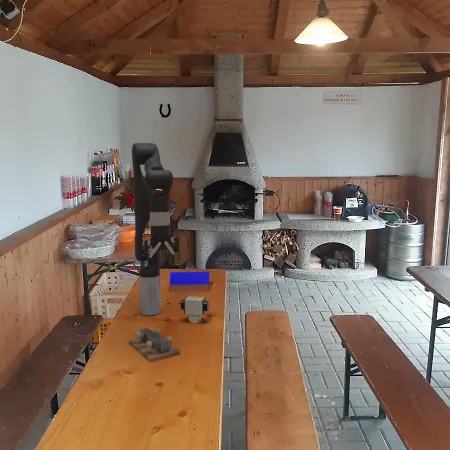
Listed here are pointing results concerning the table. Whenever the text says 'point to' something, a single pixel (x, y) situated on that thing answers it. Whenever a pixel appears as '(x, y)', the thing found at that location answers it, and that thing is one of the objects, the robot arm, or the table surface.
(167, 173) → the robot arm
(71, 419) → the table surface
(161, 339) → the bar
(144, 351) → the cradle
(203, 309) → the pneumatic valve
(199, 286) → the house
